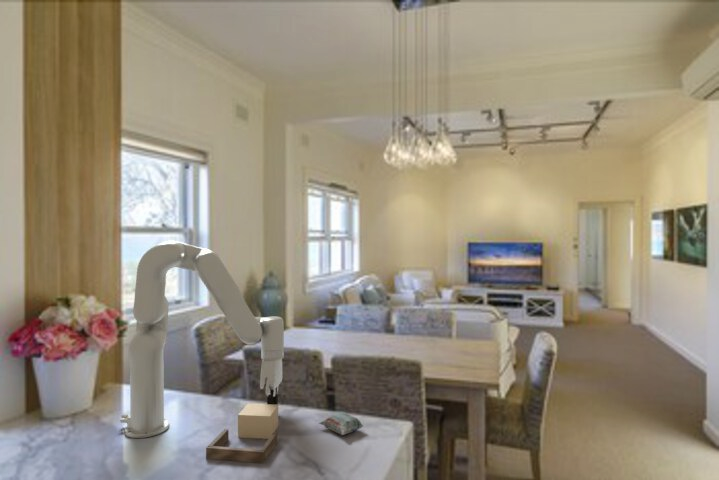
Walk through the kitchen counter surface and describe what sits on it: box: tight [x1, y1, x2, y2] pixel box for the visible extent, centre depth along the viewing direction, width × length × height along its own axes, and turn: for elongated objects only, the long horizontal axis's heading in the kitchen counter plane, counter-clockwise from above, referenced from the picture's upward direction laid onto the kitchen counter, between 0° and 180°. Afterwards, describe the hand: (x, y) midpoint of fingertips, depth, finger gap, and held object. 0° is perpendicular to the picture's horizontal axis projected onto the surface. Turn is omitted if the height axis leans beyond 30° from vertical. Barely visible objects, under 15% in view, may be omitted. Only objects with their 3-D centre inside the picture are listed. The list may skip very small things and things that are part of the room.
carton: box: [237, 402, 279, 440], centre depth 138 cm, size 10×9×7 cm
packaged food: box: [318, 411, 364, 436], centre depth 139 cm, size 9×12×5 cm
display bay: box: [205, 428, 278, 464], centre depth 126 cm, size 16×12×3 cm
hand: (272, 406), depth 151 cm, fingers closed
